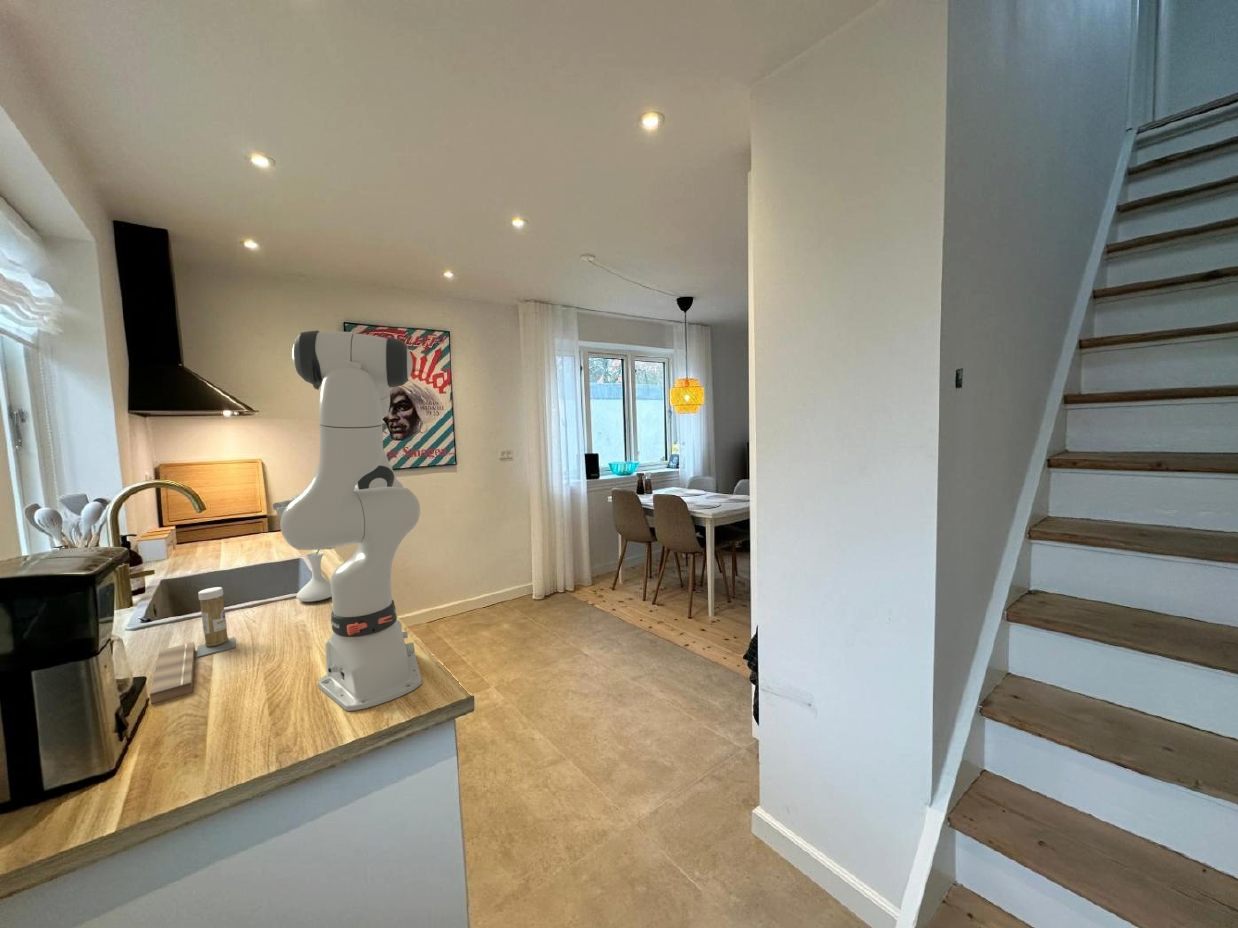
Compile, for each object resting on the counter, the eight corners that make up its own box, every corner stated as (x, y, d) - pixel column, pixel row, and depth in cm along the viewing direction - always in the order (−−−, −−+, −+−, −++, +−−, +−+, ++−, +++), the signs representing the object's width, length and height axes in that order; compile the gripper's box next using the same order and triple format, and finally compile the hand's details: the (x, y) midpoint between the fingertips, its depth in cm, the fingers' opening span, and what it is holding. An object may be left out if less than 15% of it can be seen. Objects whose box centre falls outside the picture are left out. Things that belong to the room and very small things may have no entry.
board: (192, 691, 98) (190, 681, 98) (151, 703, 95) (149, 693, 94) (195, 650, 117) (194, 641, 117) (160, 658, 113) (159, 649, 113)
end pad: (235, 647, 117) (235, 646, 117) (197, 657, 113) (197, 656, 113) (234, 638, 123) (234, 636, 123) (197, 647, 118) (197, 646, 118)
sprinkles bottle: (227, 643, 119) (221, 589, 118) (203, 649, 116) (196, 593, 115) (229, 637, 123) (223, 584, 122) (206, 642, 120) (199, 589, 119)
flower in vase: (287, 605, 144) (279, 522, 141) (312, 591, 155) (305, 514, 152) (331, 604, 143) (323, 520, 141) (353, 590, 154) (346, 512, 152)
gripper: (329, 486, 138) (269, 492, 130) (344, 493, 123) (277, 501, 114) (331, 508, 139) (272, 515, 130) (346, 518, 123) (280, 527, 115)
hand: (274, 509), depth 122 cm, fingers open, 8 cm apart
